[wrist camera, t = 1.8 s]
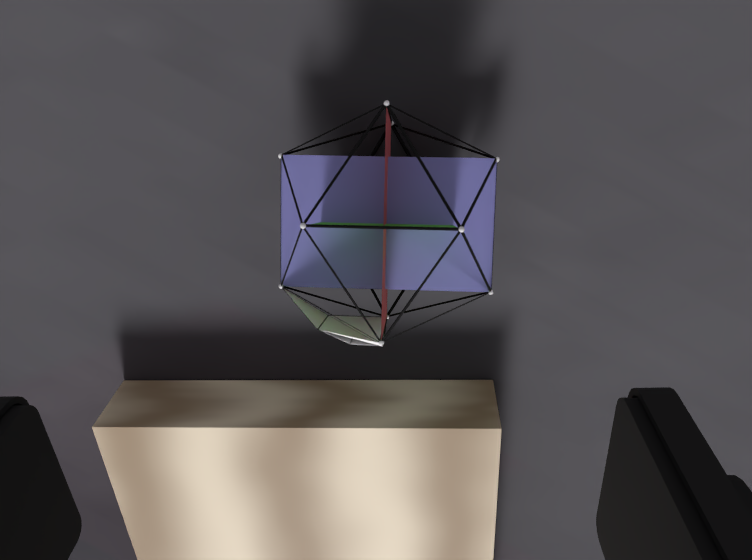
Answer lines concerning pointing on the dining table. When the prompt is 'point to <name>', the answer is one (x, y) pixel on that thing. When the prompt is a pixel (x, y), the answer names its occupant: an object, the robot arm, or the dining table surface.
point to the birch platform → (305, 468)
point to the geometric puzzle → (385, 227)
